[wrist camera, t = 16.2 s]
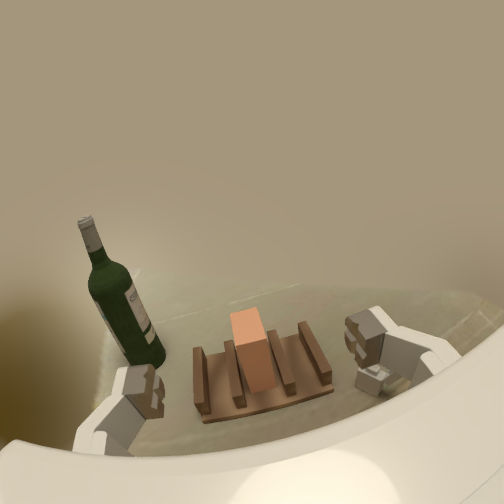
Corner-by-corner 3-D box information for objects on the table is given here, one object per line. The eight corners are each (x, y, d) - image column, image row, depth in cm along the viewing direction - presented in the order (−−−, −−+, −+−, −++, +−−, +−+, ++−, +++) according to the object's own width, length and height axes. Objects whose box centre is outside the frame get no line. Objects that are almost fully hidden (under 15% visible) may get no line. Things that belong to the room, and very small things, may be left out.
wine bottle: (173, 358, 48) (111, 209, 35) (141, 379, 44) (64, 231, 31) (155, 340, 54) (100, 207, 41) (126, 358, 49) (61, 225, 36)
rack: (305, 335, 48) (304, 317, 46) (333, 391, 36) (334, 374, 34) (200, 360, 47) (192, 344, 45) (203, 423, 34) (194, 409, 32)
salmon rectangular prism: (267, 356, 44) (256, 307, 39) (276, 387, 38) (266, 338, 33) (244, 362, 44) (229, 313, 39) (251, 393, 37) (235, 345, 33)
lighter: (354, 386, 36) (359, 353, 32) (360, 379, 36) (366, 345, 33) (392, 405, 30) (405, 372, 27) (398, 396, 31) (410, 363, 28)
